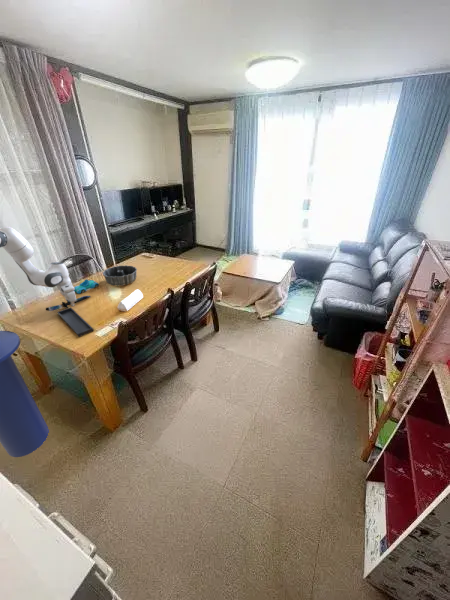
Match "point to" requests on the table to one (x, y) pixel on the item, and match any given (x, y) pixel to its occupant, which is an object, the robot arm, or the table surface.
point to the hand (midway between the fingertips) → (70, 303)
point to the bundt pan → (120, 275)
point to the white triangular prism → (130, 300)
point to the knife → (66, 304)
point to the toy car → (85, 286)
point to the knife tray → (75, 322)
